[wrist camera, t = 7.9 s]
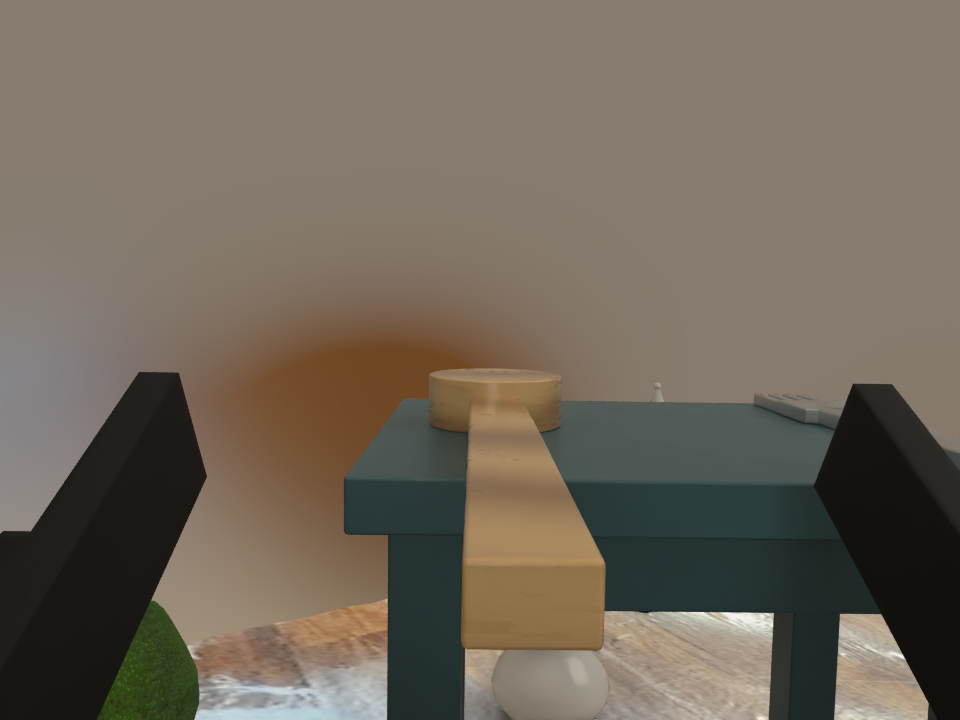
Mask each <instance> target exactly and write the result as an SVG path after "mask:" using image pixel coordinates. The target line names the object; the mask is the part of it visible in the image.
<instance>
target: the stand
mask: <svg viewBox="0 0 960 720" xmlns="http://www.w3.org/2000/svg"><path fill="white" fill-rule="evenodd" d="M834 432H835V430H834V429H831V428H828V427H825V426H823V425H820V424H804V423H802V422H799V421H796V420H793V419H791V418H788V417H785V416H782V415H780V414H777V413H776V412H773V411H770V410H767V409H765V408H762V407H759V406H756V405H754V404H745V403H743V404H741V403H739V404H738V403H737V404H736V403H674V402H669V403H668V402H606V401H561V424H560V426H559V427H558V428H556V429H554V430H551V431H546V432H541V433H540V434H541V436H542V438H543V440H544V442H545V444H546V446H547V448H548V450H549V452H550V454H551V456H552V458H553V460H554V462H555V464H556V466H557V468H558V470H559V472H560V474H561V476H562V478H563V480H564V482H565V484H566V486H567V488H568V490H569V492H570V494H571V496H572V498H573V500H574V502H575V504H576V506H577V508H578V510H579V512H580V514H581V516H582V518H583V520H584V522H585V524H586V526H587V528H588V530H589V532H590V534H591V536H592V538H593V540H594V542H595V544H596V546H597V548H598V550H599V552H600V554H601V556H602V558H603V560H604V562H605V565H606V574H605V608H604V611H667V612H750V613H774V622H773V643H772V663H771V684H770V705H769V720H834V711H835V693H836V675H837V657H838V639H839V621H840V614H881V612H880V610H879V609H878V607H877V605H876V603H875V601H874V599H873V597H872V595H871V593H870V592H869V590H868V588H867V586H866V584H865V582H864V580H863V578H862V576H861V575H860V573H859V571H858V569H857V567H856V565H855V563H854V561H853V559H852V558H851V556H850V554H849V552H848V550H847V548H846V546H845V544H844V543H843V541H842V539H841V537H840V535H839V533H838V531H837V529H836V527H835V526H834V524H833V522H832V520H831V518H830V516H829V514H828V512H827V510H826V509H825V507H824V505H823V503H822V501H821V499H820V497H819V495H818V494H817V492H816V490H815V488H814V484H815V481H816V478H817V476H818V473H819V471H820V468H821V465H822V463H823V460H824V458H825V455H826V453H827V450H828V447H829V445H830V442H831V440H832V437H833V434H834ZM467 452H468V433H460V432H453V431H447V430H443V429H439V428H436V427H434V426H432V425H430V423H429V399H404V400H403V401H402V402H401V403H400V405H399V406H398V407H397V409H396V410H395V411H394V413H393V414H392V416H391V417H390V418H389V419H388V421H387V422H386V423H385V425H384V426H383V427H382V429H381V430H380V431H379V433H378V434H377V435H376V437H375V438H374V439H373V441H372V442H371V443H370V445H369V446H368V447H367V449H366V450H365V451H364V452H363V454H362V455H361V457H360V458H359V459H358V461H357V462H356V463H355V465H354V466H353V467H352V469H351V470H350V471H349V472H348V474H347V476H345V479H344V532H345V534H348V535H350V534H351V535H388V672H387V720H464V692H465V648H464V647H463V645H462V643H461V594H462V552H463V532H464V512H465V492H466V472H467ZM928 720H937V718H936V716H935V714H934V712H933V710H932V708H931V707H930V705H929V708H928Z"/></svg>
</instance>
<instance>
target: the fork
mask: <svg viewBox="0 0 960 720" xmlns="http://www.w3.org/2000/svg"><path fill="white" fill-rule="evenodd" d="M754 405H756V406H759V407H762V408H765V409H767V410H770V411H773V412H776V413H777V414H780V415H782V416H785V417H788V418H791V419H793V420H796V421H799V422H802V423H804V424H820V425H823V426H825V427H828V428H831V429H834V430H835V429H836V427H837V424H838V421H839V419H840V416H841V414H842V411H843V408H844V406H845V403H843V402H839V401H830V400H829V401H828V400H821V399H818V398H814V397H810V396H807V395H796V396H794V395H790V394H788V395H787V394H783V395H782V396H780V395H777V394H768V396H767V395H763V394H754ZM928 431H929V432H930V433H931V434H932V436H933V437H934V438H935V439H936V441H937V442H938V443H939V445H940V446H941V447H942V448H943V450H944V451H945V452H946V453H947V455H948V456H949V457H950V459H951V460H952V461H953V462H954V464H955V465H956V466H957V467H958V469H959V470H960V438H959V437H955V436H952V435H948V434H944V433H941V432H937V431H933V430H930V429H928Z"/></svg>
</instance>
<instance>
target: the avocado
mask: <svg viewBox="0 0 960 720" xmlns="http://www.w3.org/2000/svg"><path fill="white" fill-rule="evenodd" d="M199 695H200V694H199V683H198V673H197V668H196V666H195V664H194V661H193V659H192V657H191V655H190V653H189V650H188V648H187V646H186V644H185V643H184V641H183V639H182V637H181V636H180V634H179V632H178V630H177V629H176V627H175V625H174V624H173V622H172V620H171V619H170V617H169V616H168V614H167V613H166V611H165V610H164V608H162V607H161V606H160V605H159V604H158V603H157V602H155V601H150V603H149V606H148V608H147V610H146V612H145V615H144V617H143V619H142V621H141V623H140V626H139V628H138V630H137V632H136V634H135V637H134V639H133V641H132V643H131V645H130V648H129V650H128V652H127V654H126V657H125V659H124V661H123V663H122V665H121V668H120V670H119V672H118V674H117V676H116V679H115V681H114V683H113V685H112V687H111V690H110V692H109V694H108V696H107V699H106V701H105V703H104V705H103V707H102V710H101V712H100V714H99V716H98V718H97V720H194V718H195V715H196V712H197V708H198V705H199Z"/></svg>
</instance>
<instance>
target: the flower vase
mask: <svg viewBox="0 0 960 720" xmlns="http://www.w3.org/2000/svg"><path fill="white" fill-rule="evenodd" d="M492 690H493V694H494V696H495V698H496V700H497V701H498V703H499V705H500V707H501V708H502V709H503V710H504V712H505V713H506V714H508V715H509V716H510V717H511V720H594V719H595V718H596V717H597V716H598V715H599V714H600V713H601V711H602V710H603V708H604V707H605V705H606V704H607V702H608V698H609V691H610V684H609V680H608V676H607V673H606V670H605V668H604V665H603V663H602V661H601V660H600V658H599V657H598V656H597V655H596V653H595V652H594V651H579V650H504V651H503V653H502V654H501V655H500V657H499V659H498V661H497V663H496V665H495V668H494V671H493V675H492Z"/></svg>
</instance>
